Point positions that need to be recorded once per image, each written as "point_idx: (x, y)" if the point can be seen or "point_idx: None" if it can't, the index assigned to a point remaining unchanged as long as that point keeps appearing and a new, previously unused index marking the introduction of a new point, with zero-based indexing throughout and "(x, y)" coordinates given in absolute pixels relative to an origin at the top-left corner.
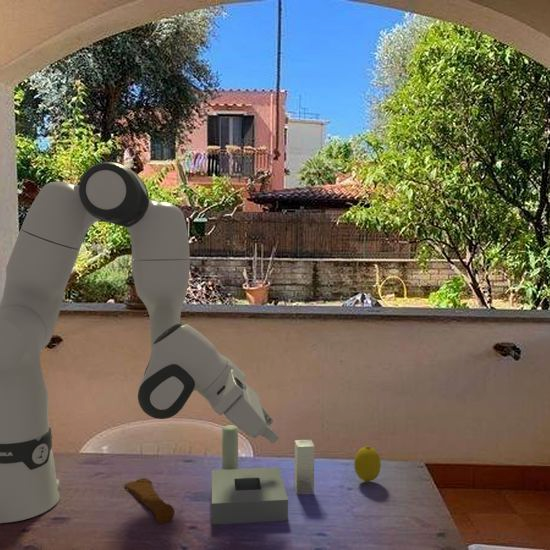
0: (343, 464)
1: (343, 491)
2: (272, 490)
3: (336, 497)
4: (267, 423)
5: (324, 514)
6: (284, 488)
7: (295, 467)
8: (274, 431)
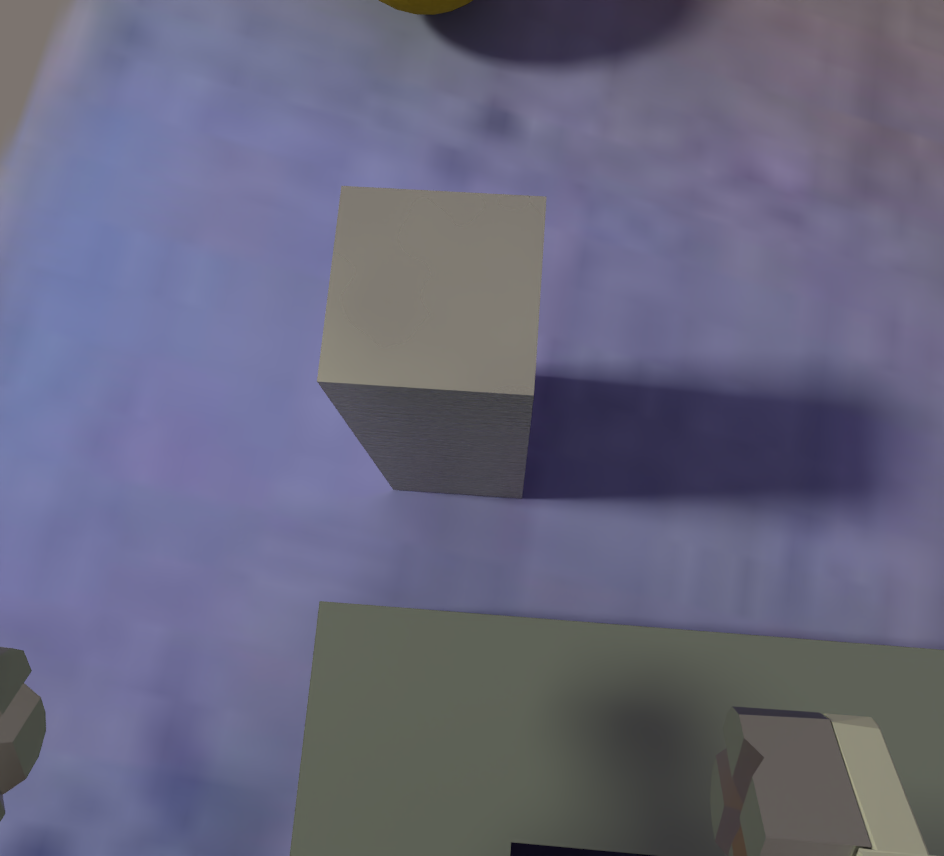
0: (129, 59)
1: (530, 171)
2: None
3: (607, 238)
4: (16, 752)
5: (828, 377)
6: (763, 638)
7: (427, 456)
8: (781, 787)
